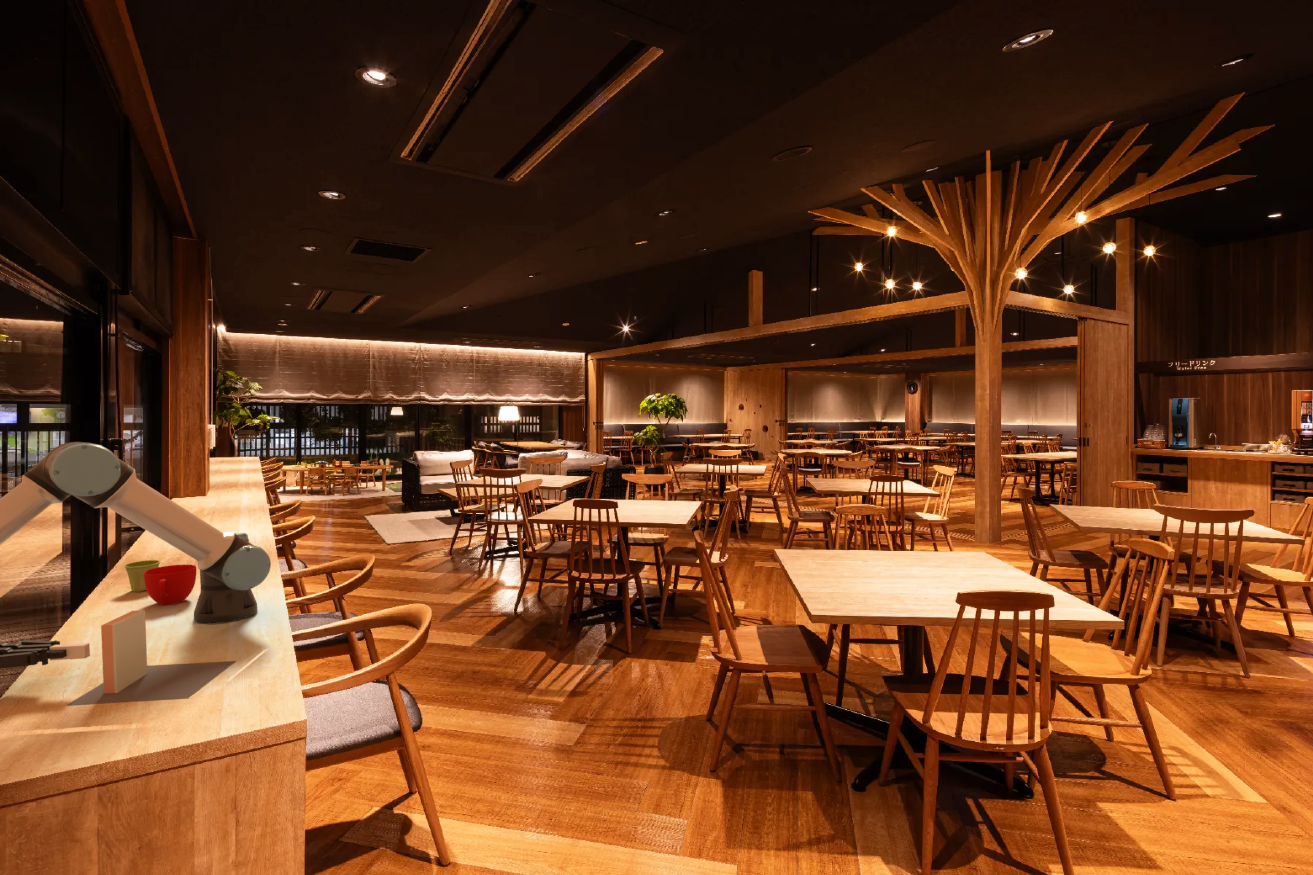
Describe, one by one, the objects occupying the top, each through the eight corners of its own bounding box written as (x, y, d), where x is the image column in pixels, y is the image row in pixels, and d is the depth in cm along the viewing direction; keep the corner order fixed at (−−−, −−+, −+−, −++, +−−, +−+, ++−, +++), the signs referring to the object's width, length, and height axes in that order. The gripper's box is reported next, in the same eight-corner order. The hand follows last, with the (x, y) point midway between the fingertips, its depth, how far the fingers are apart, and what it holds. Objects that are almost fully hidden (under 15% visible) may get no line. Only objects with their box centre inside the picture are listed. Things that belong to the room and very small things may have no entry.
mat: (65, 708, 130) (65, 705, 130) (130, 669, 150) (130, 666, 150) (188, 701, 133) (188, 698, 133) (236, 663, 153) (236, 660, 153)
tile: (103, 693, 136) (101, 625, 135) (134, 674, 146) (132, 610, 145) (117, 692, 136) (114, 624, 135) (147, 673, 146) (145, 610, 145)
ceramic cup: (134, 614, 191) (133, 579, 190) (151, 598, 206) (150, 566, 206) (188, 608, 196) (187, 574, 196) (201, 594, 212) (200, 562, 211)
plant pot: (146, 593, 212) (145, 566, 212) (117, 593, 213) (116, 566, 212) (168, 585, 222) (167, 559, 221) (140, 585, 222) (139, 559, 222)
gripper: (-14, 663, 143) (108, 656, 146) (-71, 688, 130) (65, 680, 133) (-15, 628, 142) (107, 623, 146) (-73, 650, 129) (63, 643, 133)
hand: (87, 650), depth 139 cm, fingers closed
